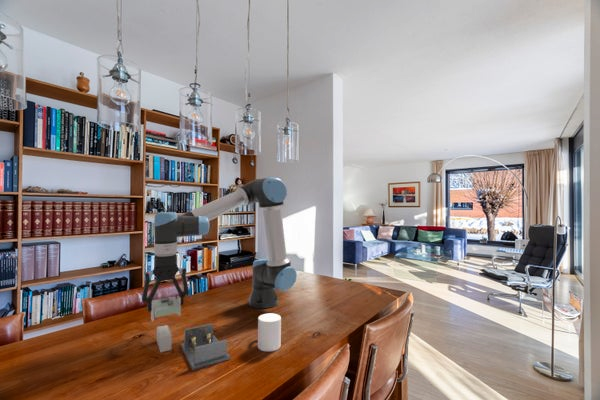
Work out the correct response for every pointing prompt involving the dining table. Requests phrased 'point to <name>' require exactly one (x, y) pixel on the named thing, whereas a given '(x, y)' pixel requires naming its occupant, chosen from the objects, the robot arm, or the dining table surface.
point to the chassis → (203, 347)
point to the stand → (164, 338)
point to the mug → (269, 332)
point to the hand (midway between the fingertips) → (166, 317)
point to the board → (166, 306)
